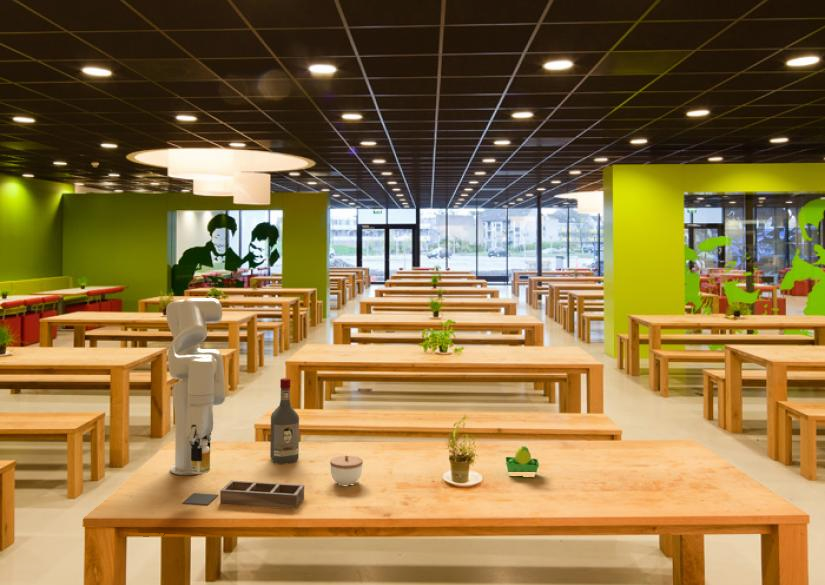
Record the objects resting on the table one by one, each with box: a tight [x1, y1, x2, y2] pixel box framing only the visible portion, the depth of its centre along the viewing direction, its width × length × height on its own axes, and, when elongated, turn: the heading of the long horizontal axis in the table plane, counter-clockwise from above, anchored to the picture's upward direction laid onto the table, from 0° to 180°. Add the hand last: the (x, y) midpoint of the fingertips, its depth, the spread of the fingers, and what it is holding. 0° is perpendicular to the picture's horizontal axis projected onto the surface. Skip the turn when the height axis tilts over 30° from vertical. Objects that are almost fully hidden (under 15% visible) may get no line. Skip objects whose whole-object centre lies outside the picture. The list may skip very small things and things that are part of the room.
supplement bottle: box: [192, 439, 211, 475], centre depth 206 cm, size 5×5×10 cm
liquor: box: [269, 377, 300, 465], centre depth 247 cm, size 9×9×30 cm
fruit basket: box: [504, 445, 540, 473], centre depth 237 cm, size 11×9×11 cm
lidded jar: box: [329, 454, 364, 486], centre depth 225 cm, size 11×11×9 cm
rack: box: [219, 480, 305, 510], centre depth 207 cm, size 9×24×4 cm, turn 84°
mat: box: [182, 492, 219, 506], centre depth 207 cm, size 8×8×1 cm
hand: (200, 457), depth 206 cm, fingers closed on supplement bottle, 5 cm apart
